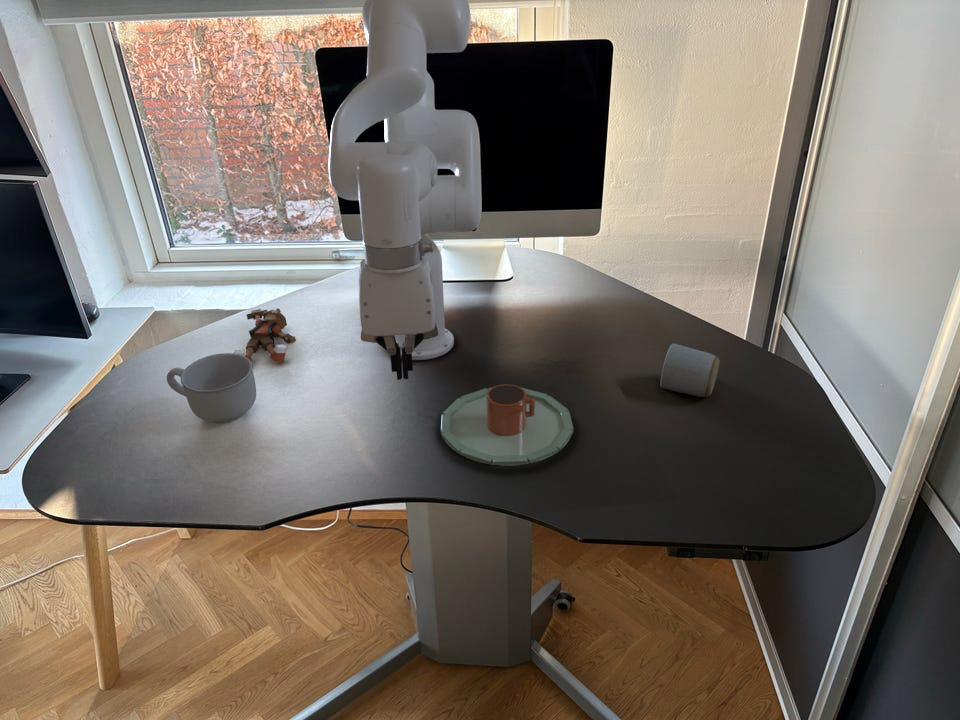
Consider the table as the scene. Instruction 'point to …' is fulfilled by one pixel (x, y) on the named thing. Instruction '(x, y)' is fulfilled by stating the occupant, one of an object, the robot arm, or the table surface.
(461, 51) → the robot arm
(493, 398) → the espresso cup
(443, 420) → the plate
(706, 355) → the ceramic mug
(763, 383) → the table surface
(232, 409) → the teacup
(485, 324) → the table surface
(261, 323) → the character figurine
